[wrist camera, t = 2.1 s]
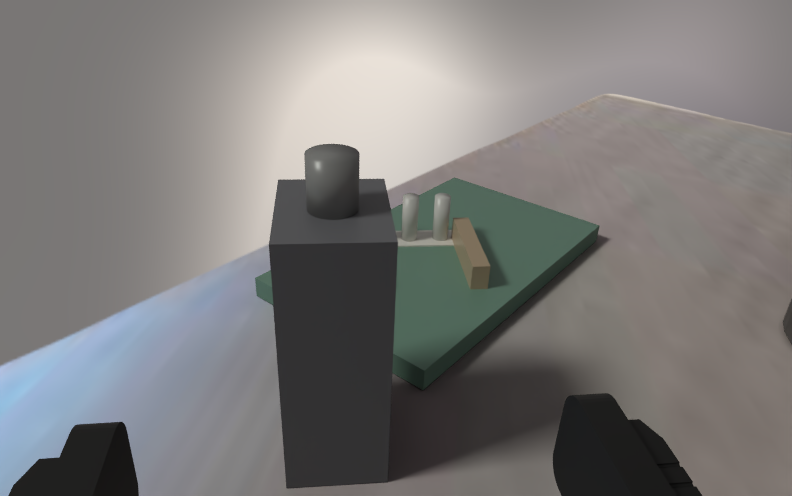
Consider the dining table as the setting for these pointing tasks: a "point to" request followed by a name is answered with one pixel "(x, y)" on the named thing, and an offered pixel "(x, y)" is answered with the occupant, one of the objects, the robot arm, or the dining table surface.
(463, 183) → the board
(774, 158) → the dining table surface
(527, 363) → the dining table surface
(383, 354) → the block
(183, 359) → the dining table surface
